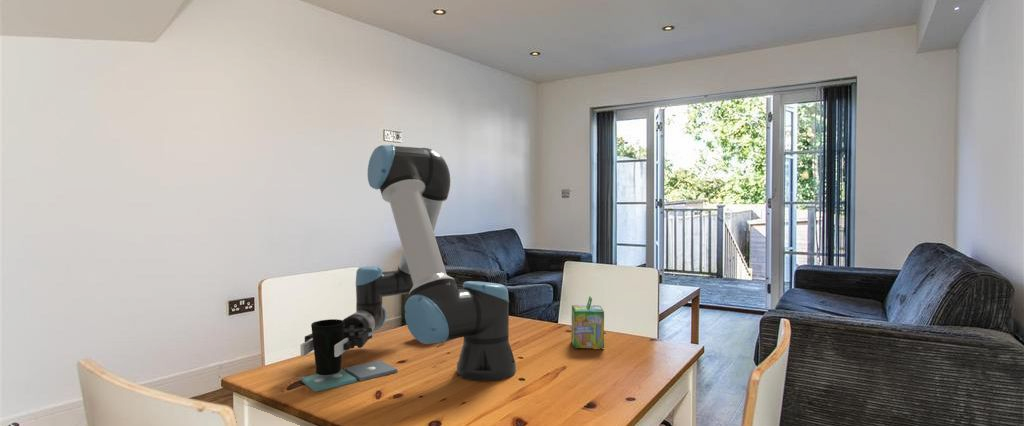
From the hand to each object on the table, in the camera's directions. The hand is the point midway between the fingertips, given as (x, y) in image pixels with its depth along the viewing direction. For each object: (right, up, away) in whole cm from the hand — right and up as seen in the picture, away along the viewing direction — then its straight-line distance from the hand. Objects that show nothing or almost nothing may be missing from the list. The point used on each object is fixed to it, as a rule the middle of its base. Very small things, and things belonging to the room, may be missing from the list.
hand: (319, 350), depth 119 cm
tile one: (+9, -9, +12) cm, 17 cm away
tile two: (+1, -9, +5) cm, 10 cm away
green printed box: (+69, -8, +35) cm, 77 cm away
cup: (0, -7, +5) cm, 8 cm away
